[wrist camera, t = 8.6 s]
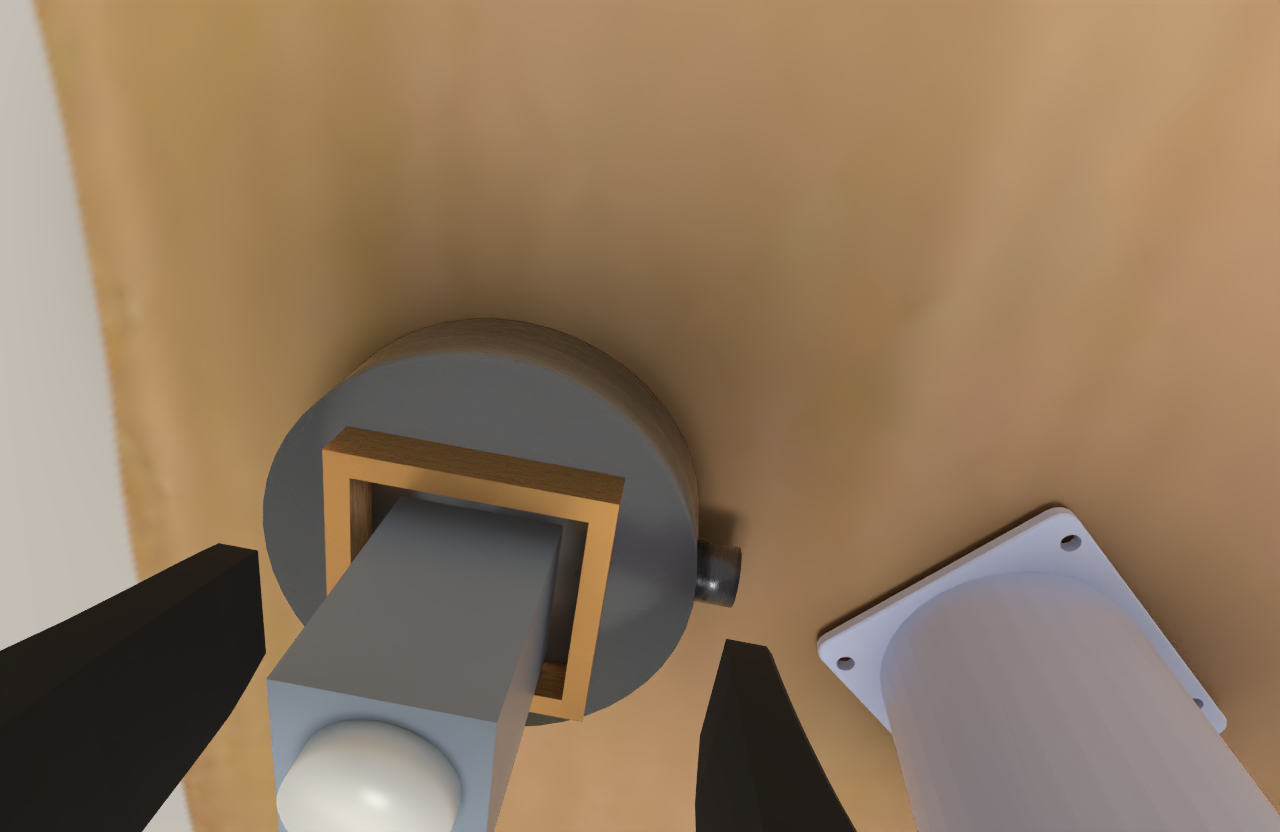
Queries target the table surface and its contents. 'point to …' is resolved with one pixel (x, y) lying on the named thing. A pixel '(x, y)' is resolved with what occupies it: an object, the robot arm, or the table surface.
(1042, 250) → the table surface
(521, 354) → the grey disc square socket
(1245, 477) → the table surface
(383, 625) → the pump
